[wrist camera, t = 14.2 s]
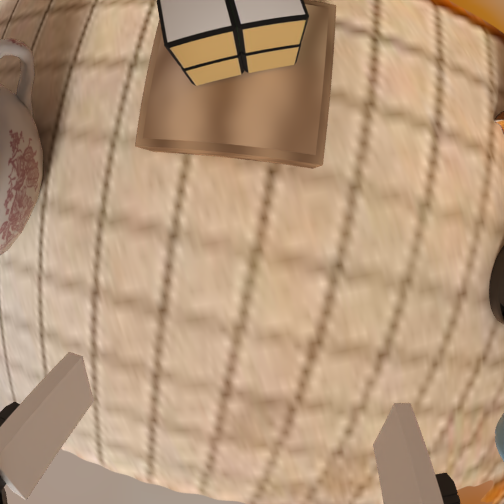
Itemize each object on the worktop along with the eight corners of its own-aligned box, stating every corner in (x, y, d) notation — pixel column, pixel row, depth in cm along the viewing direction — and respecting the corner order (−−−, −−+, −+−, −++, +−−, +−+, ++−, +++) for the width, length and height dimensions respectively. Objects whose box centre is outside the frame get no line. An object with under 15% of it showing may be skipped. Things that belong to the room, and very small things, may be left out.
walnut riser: (326, 28, 31) (336, 4, 25) (312, 168, 35) (323, 164, 29) (179, 16, 31) (166, -8, 25) (154, 151, 35) (134, 146, 29)
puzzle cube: (176, 9, 26) (148, -44, 16) (271, -12, 25) (274, -71, 15) (193, 88, 27) (163, 48, 18) (297, 65, 27) (311, 17, 17)
